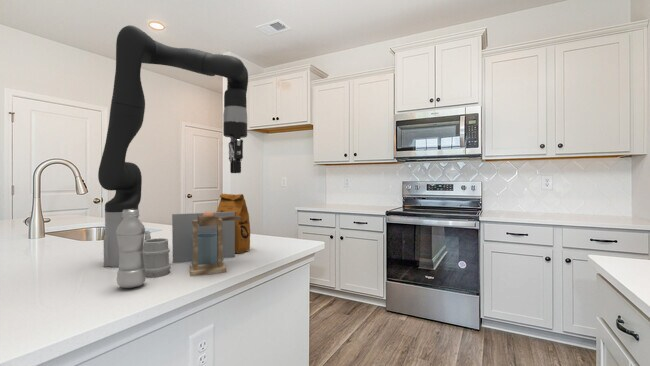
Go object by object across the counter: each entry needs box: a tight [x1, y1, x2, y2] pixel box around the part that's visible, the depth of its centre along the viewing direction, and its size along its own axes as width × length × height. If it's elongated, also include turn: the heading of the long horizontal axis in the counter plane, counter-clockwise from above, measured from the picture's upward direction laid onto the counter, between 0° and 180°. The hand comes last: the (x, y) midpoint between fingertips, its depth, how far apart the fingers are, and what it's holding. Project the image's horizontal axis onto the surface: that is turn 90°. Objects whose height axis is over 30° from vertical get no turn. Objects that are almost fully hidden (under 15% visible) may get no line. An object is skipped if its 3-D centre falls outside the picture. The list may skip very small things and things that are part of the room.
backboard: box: [171, 211, 236, 264], centre depth 110 cm, size 20×1×16 cm, turn 114°
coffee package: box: [216, 193, 251, 254], centre depth 123 cm, size 10×12×22 cm
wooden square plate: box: [198, 212, 241, 226], centre depth 99 cm, size 13×13×3 cm
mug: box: [143, 230, 172, 278], centre depth 95 cm, size 8×12×12 cm, turn 51°
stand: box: [189, 218, 227, 277], centre depth 97 cm, size 10×7×16 cm
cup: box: [190, 233, 217, 266], centre depth 106 cm, size 9×9×9 cm
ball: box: [203, 210, 214, 217], centre depth 93 cm, size 3×3×3 cm
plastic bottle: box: [116, 208, 147, 289], centre depth 83 cm, size 6×7×20 cm
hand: (235, 173), depth 105 cm, fingers open, 7 cm apart
